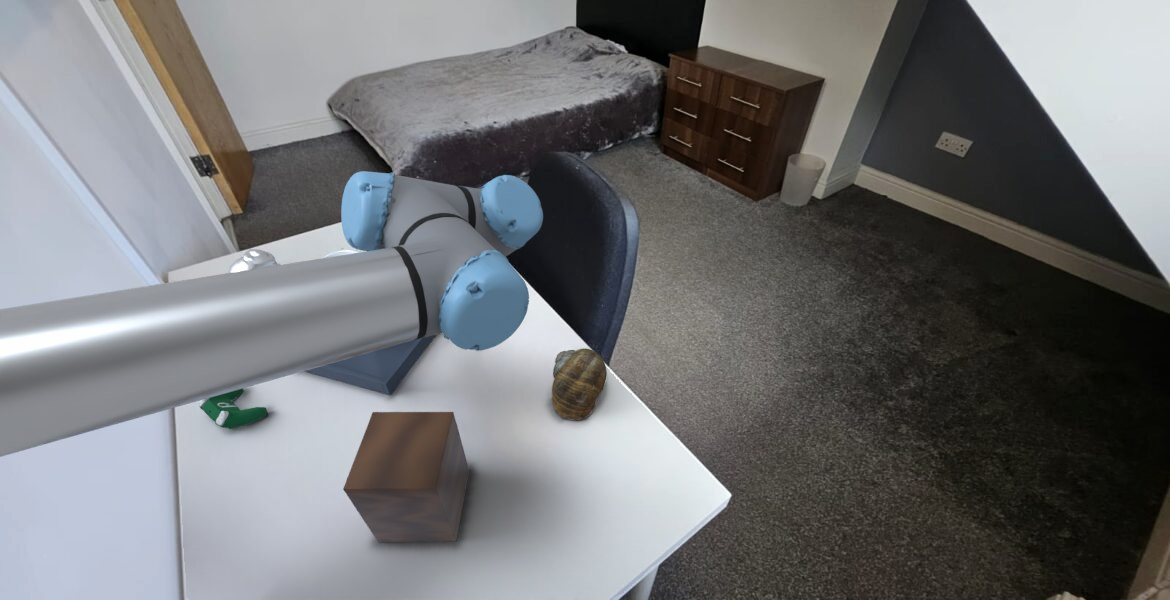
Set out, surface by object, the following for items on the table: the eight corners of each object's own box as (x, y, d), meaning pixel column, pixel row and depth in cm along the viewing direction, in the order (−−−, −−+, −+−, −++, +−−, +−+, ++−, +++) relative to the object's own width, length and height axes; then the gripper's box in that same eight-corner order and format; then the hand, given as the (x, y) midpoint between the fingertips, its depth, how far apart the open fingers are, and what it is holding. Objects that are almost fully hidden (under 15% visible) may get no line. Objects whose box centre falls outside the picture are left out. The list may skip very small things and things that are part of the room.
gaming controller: (232, 403, 78) (190, 405, 72) (241, 382, 77) (200, 383, 72) (262, 431, 74) (220, 436, 68) (271, 409, 74) (230, 412, 68)
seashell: (567, 360, 84) (567, 328, 79) (615, 379, 81) (619, 347, 76) (535, 407, 76) (533, 375, 71) (587, 429, 73) (588, 398, 68)
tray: (301, 370, 81) (294, 359, 79) (365, 305, 94) (360, 294, 92) (390, 395, 77) (385, 384, 75) (444, 324, 90) (441, 313, 88)
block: (377, 542, 60) (342, 489, 51) (399, 469, 68) (372, 411, 58) (456, 541, 60) (435, 488, 51) (469, 469, 68) (453, 411, 59)
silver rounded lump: (288, 303, 94) (267, 263, 87) (235, 311, 92) (209, 271, 85) (296, 276, 100) (276, 237, 94) (246, 283, 98) (223, 243, 92)
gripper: (410, 341, 53) (351, 380, 68) (522, 232, 70) (456, 282, 85) (360, 292, 51) (311, 343, 66) (488, 193, 68) (427, 250, 83)
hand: (392, 309), depth 75 cm, fingers open, 13 cm apart
